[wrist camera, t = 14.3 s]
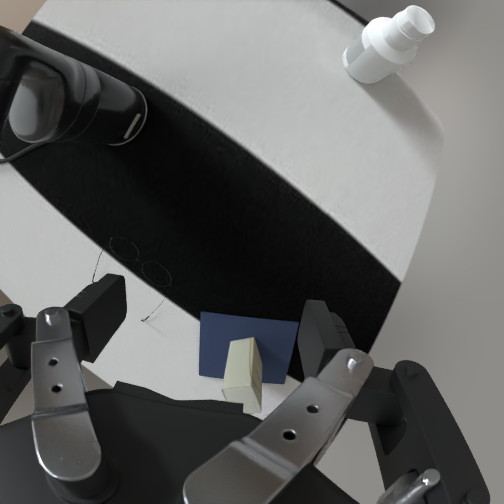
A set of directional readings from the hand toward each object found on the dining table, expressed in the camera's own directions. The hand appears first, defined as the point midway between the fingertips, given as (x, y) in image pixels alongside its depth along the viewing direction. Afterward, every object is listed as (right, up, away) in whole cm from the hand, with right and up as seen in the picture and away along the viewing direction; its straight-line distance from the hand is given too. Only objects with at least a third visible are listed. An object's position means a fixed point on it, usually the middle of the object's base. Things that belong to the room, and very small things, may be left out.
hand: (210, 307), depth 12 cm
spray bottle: (+18, +30, +22) cm, 41 cm away
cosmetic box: (+1, -15, +36) cm, 39 cm away
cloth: (+1, -15, +36) cm, 39 cm away
